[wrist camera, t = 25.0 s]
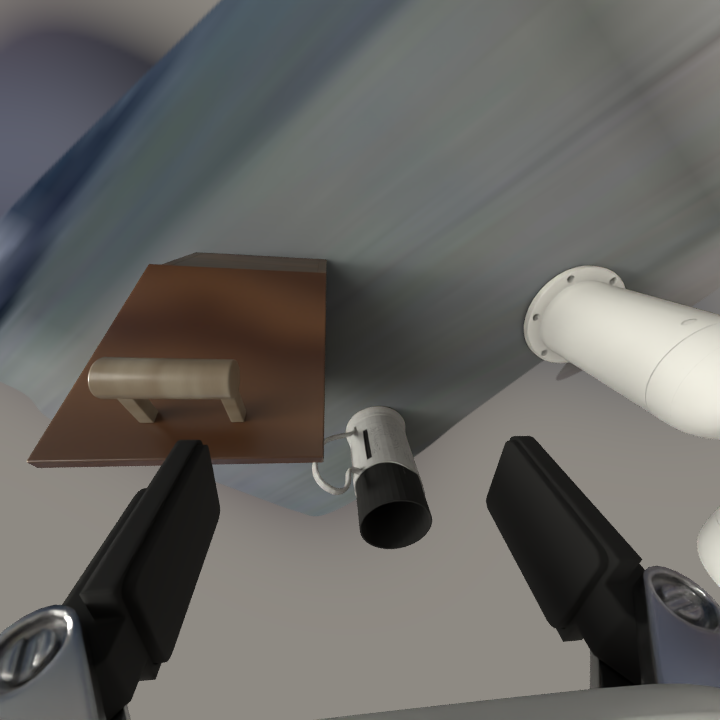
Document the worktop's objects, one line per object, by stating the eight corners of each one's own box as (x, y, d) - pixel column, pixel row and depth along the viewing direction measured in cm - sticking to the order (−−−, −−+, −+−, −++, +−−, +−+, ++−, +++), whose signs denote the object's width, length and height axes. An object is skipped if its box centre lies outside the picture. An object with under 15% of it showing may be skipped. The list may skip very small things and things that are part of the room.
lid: (323, 462, 16) (324, 414, 12) (37, 468, 15) (-69, 415, 11) (326, 280, 26) (327, 220, 22) (153, 272, 25) (120, 205, 20)
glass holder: (382, 462, 48) (404, 560, 35) (300, 425, 44) (289, 523, 30) (417, 421, 45) (455, 512, 32) (333, 378, 41) (336, 463, 27)
